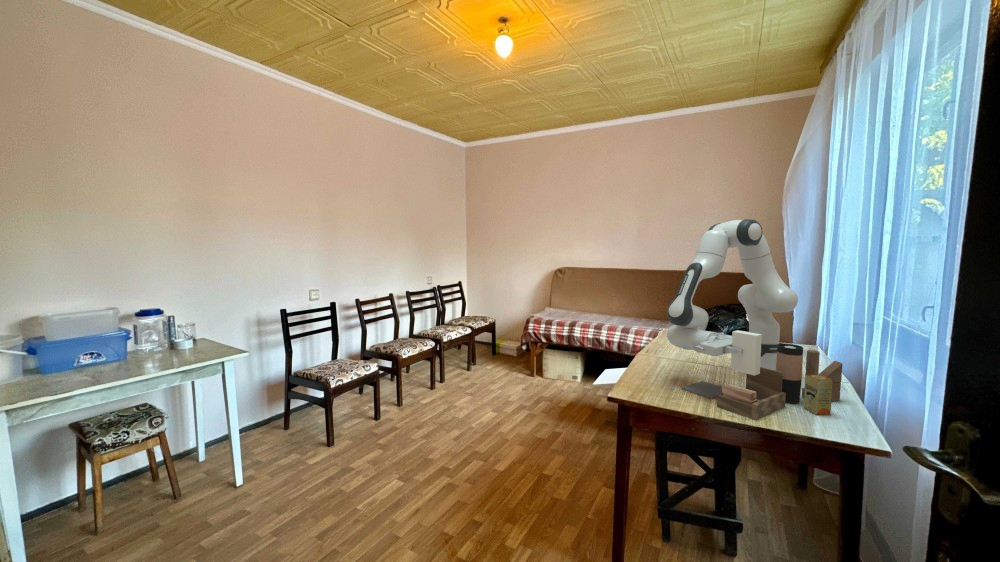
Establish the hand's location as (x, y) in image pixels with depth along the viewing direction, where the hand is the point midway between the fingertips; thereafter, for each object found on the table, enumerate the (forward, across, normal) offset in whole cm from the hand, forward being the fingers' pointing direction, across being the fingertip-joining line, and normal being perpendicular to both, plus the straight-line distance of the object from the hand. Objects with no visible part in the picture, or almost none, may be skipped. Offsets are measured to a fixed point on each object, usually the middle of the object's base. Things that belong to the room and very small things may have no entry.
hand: (745, 350), depth 138 cm
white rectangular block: (0, 0, +8) cm, 8 cm away
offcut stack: (+3, -9, +19) cm, 21 cm away
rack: (+4, -3, +19) cm, 19 cm away
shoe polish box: (+18, +12, +19) cm, 28 cm away
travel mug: (+8, +15, +19) cm, 25 cm away
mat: (-14, 0, +19) cm, 23 cm away
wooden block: (+14, +26, +19) cm, 35 cm away
